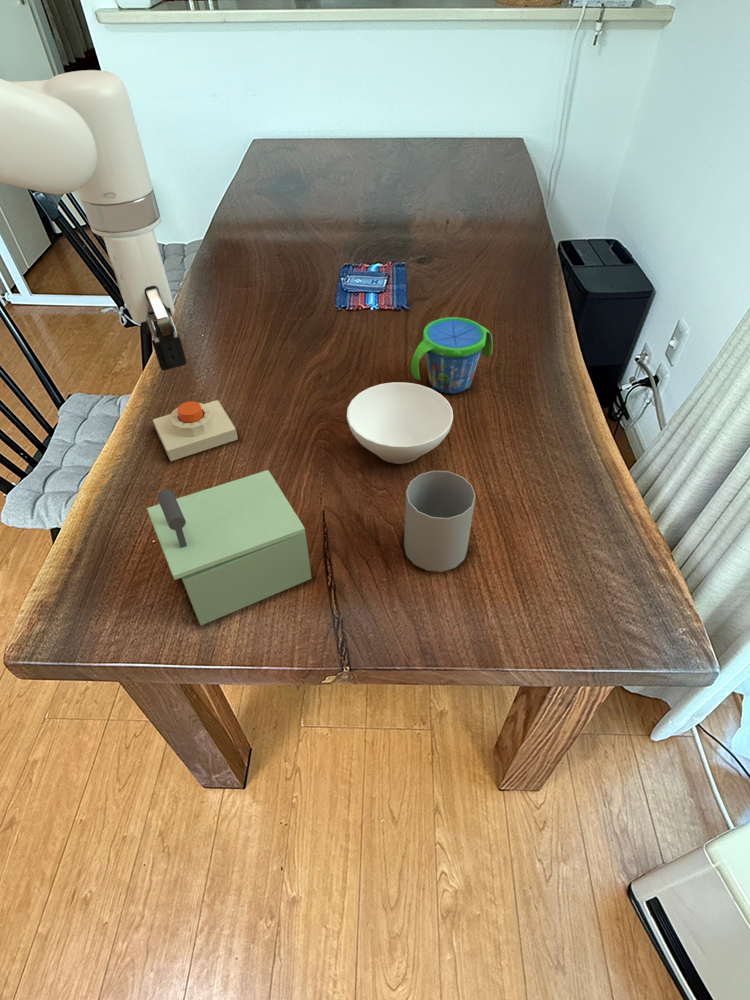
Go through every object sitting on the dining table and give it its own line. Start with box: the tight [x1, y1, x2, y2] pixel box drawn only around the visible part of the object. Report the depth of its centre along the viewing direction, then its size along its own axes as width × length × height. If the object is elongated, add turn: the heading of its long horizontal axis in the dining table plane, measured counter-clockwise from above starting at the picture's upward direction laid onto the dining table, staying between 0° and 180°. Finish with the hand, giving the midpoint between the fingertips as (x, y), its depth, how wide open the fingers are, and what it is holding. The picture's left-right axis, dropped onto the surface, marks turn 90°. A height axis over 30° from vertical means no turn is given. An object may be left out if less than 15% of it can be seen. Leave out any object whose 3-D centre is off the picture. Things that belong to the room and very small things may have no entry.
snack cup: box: [410, 316, 494, 395], centre depth 103 cm, size 16×10×10 cm
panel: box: [152, 399, 239, 462], centre depth 96 cm, size 11×9×4 cm
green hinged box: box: [180, 532, 312, 627], centre depth 74 cm, size 15×12×9 cm
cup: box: [403, 470, 477, 573], centre depth 76 cm, size 8×8×10 cm
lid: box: [146, 469, 306, 581], centre depth 69 cm, size 15×12×6 cm
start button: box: [177, 400, 203, 423], centre depth 94 cm, size 4×4×2 cm
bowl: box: [346, 381, 454, 465], centre depth 92 cm, size 16×16×7 cm
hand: (164, 348), depth 77 cm, fingers open, 9 cm apart
